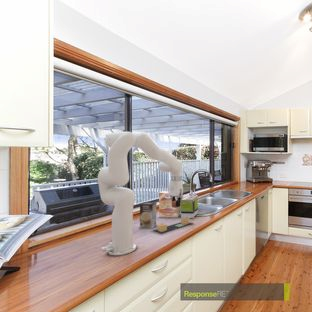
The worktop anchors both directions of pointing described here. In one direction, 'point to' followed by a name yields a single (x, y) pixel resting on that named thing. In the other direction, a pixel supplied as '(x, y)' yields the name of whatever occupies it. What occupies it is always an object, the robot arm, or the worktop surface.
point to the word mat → (172, 226)
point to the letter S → (174, 204)
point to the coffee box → (147, 215)
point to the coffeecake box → (167, 206)
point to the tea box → (189, 206)
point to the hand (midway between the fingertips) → (176, 205)
